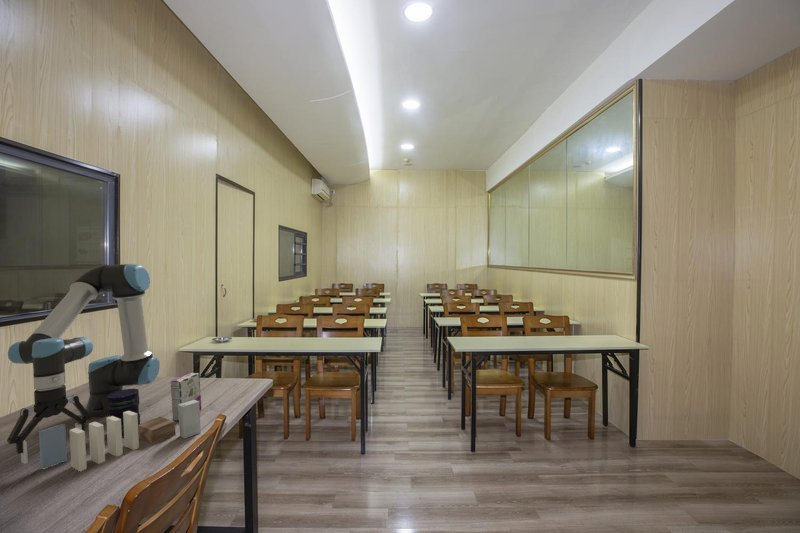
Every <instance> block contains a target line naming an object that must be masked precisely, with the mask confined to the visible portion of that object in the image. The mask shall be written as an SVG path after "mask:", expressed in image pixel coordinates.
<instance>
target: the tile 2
mask: <svg viewBox="0 0 800 533" xmlns="http://www.w3.org/2000/svg"><path fill="white" fill-rule="evenodd" d="M104 429H105V428H104V424H102V423H100V422H97V421H93V422H90V423H89V422H88V437H89V459H91V461H92V460H93V461H92V462H94V463H96V464H98V465H100V464H103V463H105V462H106V451H105V432H104V431H105V430H104Z"/></svg>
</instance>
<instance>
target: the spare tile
mask: <svg viewBox="0 0 800 533" xmlns="http://www.w3.org/2000/svg"><path fill="white" fill-rule="evenodd" d="M66 434H67V433H66V424H64V423H60V424H57V425H55V426H52V427H48V428H45V429H43V430H39V431H38V440H39V441H38V442H39V459H40V460H39V461H40V469H41V468H46V467H49V466H51V465H54V464H57V463H60V462H62V461H65V460H67V461H68V456H67V455H68V454H67V453H68V452H67V436H66ZM65 462H66V461H65ZM60 464H61V463H60ZM57 465H58V464H57Z"/></svg>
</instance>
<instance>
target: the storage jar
mask: <svg viewBox="0 0 800 533" xmlns="http://www.w3.org/2000/svg"><path fill="white" fill-rule="evenodd" d="M139 394H140V393H139V389H137V388H128V389H123V390H120V391H116V392H113V393H111V394H109V395H108V411H109V416H108V417H111V416H114V417H117V418H119V419H121V431H122V436H123V437H124V422H123V412H126V411H131V412H134V413H137V417H138V425H139V424H141V413H140V406H139V405H140V395H139Z"/></svg>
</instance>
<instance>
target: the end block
mask: <svg viewBox="0 0 800 533" xmlns="http://www.w3.org/2000/svg"><path fill="white" fill-rule="evenodd" d="M174 436H176V421H175V420H173V419H168V418H166V417H162V416H159V417H156V418H153V419H150V420H148V421H145V422H142V423H141V422H140V424H139V425H138V439H139V440H142V441H144V442H146V443H148V444H151V445H154V444H157V443H160V442H161V441H165V440H166V439H169V438H172V437H174Z"/></svg>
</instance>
